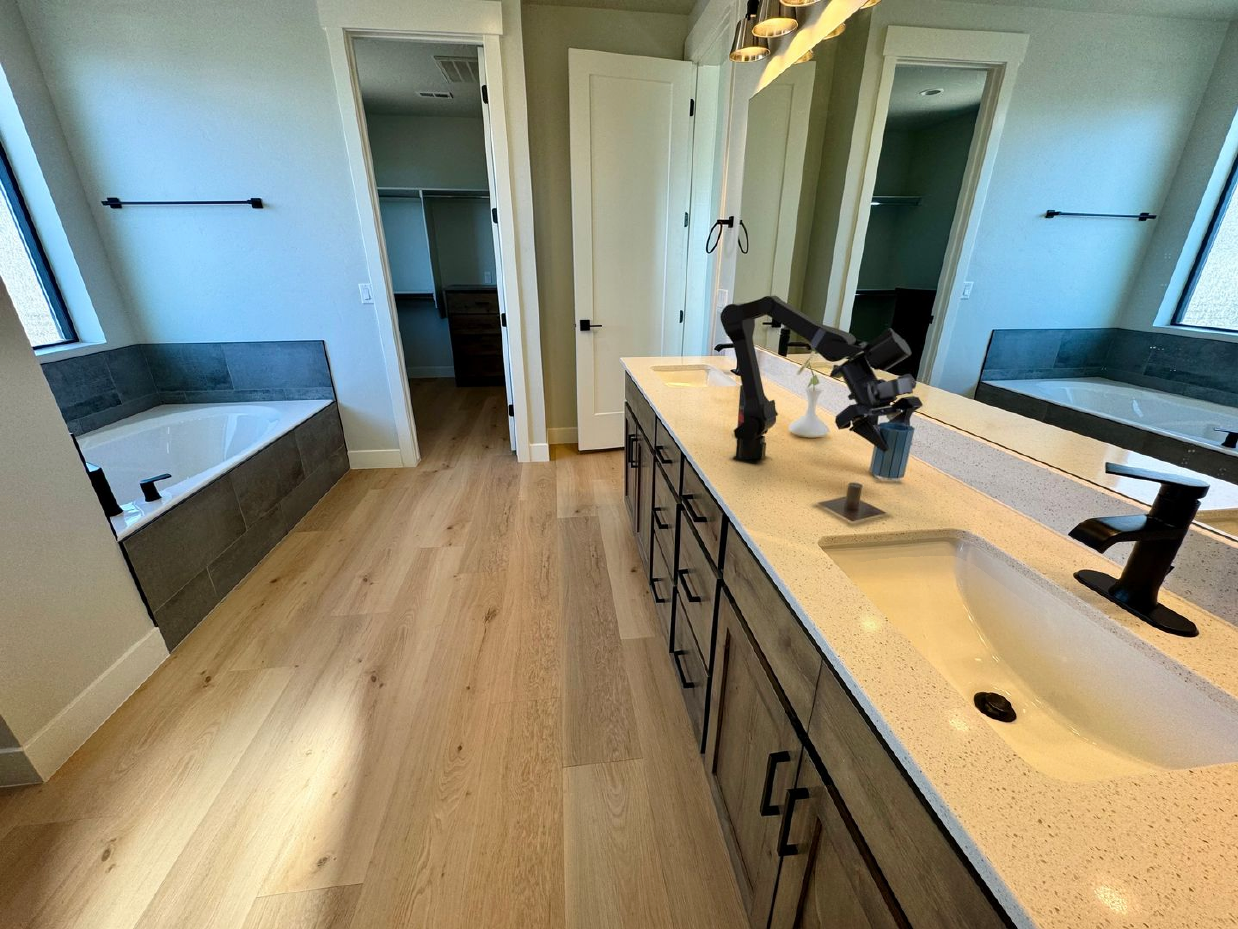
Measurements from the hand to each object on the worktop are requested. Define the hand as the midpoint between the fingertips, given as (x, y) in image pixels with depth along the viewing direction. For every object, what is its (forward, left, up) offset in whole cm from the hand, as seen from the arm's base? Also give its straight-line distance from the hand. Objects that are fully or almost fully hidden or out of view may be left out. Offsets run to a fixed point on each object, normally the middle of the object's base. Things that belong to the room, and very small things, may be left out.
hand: (898, 448), depth 99 cm
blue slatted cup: (-1, +1, -6) cm, 6 cm away
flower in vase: (-28, +36, -12) cm, 47 cm away
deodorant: (-42, +25, -12) cm, 50 cm away
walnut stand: (-5, -9, -12) cm, 16 cm away
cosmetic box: (-3, +14, -12) cm, 19 cm away
